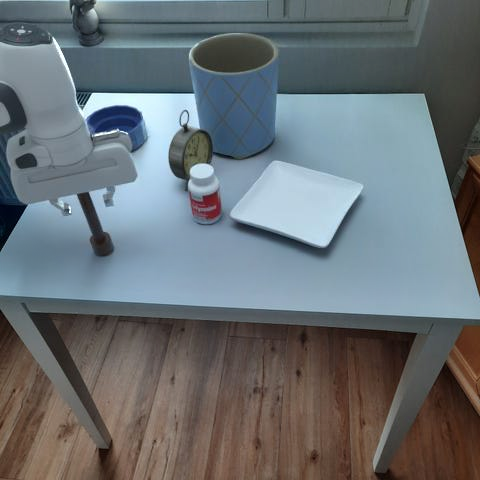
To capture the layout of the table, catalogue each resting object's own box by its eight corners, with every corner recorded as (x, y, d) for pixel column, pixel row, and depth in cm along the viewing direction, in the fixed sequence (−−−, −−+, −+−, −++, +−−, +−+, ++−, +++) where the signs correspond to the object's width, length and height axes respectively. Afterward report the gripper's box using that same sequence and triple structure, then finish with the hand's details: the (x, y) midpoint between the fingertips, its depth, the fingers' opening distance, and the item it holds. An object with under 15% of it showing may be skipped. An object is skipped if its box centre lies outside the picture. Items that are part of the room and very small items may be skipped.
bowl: (93, 161, 112) (86, 142, 108) (87, 130, 120) (81, 111, 116) (152, 149, 114) (147, 130, 110) (142, 119, 122) (138, 100, 118)
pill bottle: (190, 225, 97) (183, 180, 88) (194, 205, 100) (188, 160, 92) (220, 225, 96) (215, 180, 87) (223, 206, 100) (219, 161, 91)
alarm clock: (189, 196, 102) (178, 127, 89) (169, 189, 104) (155, 120, 91) (216, 169, 108) (210, 100, 95) (197, 163, 110) (188, 94, 97)
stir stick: (95, 258, 92) (63, 180, 77) (93, 245, 94) (61, 166, 80) (115, 253, 93) (87, 175, 78) (112, 240, 95) (85, 161, 80)
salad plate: (273, 170, 107) (273, 157, 104) (363, 196, 100) (365, 182, 97) (227, 227, 96) (226, 214, 93) (325, 260, 89) (327, 247, 86)
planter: (183, 142, 115) (169, 56, 99) (235, 109, 123) (231, 25, 107) (240, 172, 107) (236, 84, 91) (293, 134, 115) (297, 47, 99)
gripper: (124, 117, 78) (142, 186, 89) (-3, 142, 75) (32, 210, 86) (130, 137, 74) (148, 207, 85) (-4, 164, 71) (32, 232, 82)
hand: (88, 209), depth 85 cm, fingers open, 6 cm apart
